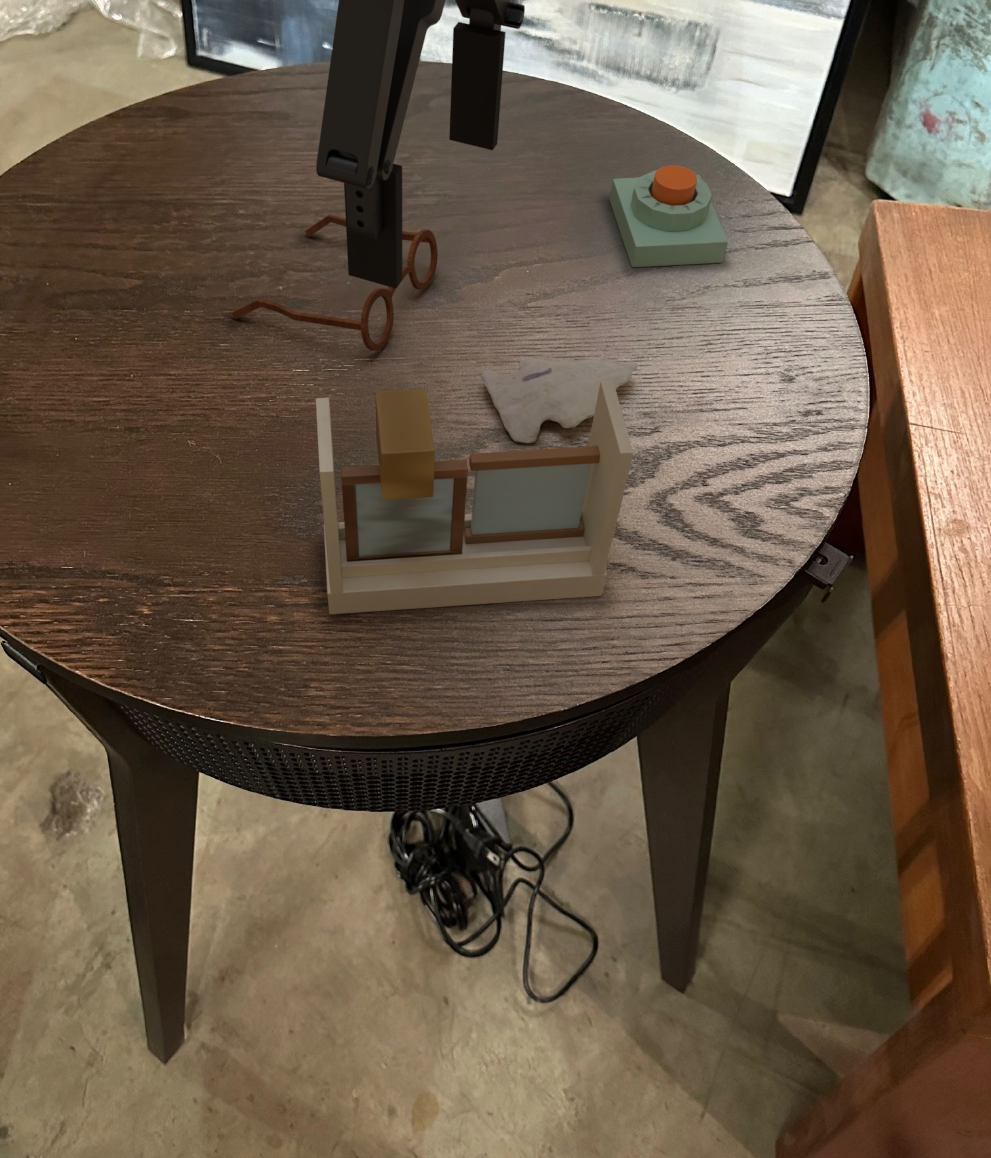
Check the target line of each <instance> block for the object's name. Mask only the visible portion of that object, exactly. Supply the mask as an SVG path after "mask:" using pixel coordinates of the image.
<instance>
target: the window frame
mask: <svg viewBox="0 0 991 1158" xmlns="http://www.w3.org/2000/svg"><path fill="white" fill-rule="evenodd" d="M315 410H316V411H315V412H316V431H317V444H318V445H317V448H318V466H319V467H318V469H319V470H318V471H319V481H320V482H319V483H320V490H321V491H320V493H321V504H322V513H323V514H322V515H323V535H324V536H323V537H324V538H323V539H324V554H325V556H324V557H325V575H326V577H325V578H326V593H327V595H326V596H327V603H328V614H329V615H342V614H355V613H357V614H358V613H373V612H386V611H399V610H411V609H412V610H415V609H429V608H444V607H458V606H473V605H486V604H487V605H489V604H503V603H515V602H516V603H517V602H531V601H532V602H533V601H545V600H561V599H574V598H575V599H576V598H589V597H601V596H602V597H603V593H604V590H605V584H606V581H607V577H608V572H607V565H608V561H609V556H610V554H611V553H610V552H611V549H612V544H613V540H614V536H615V531H616V528H617V523H618V518H619V515H620V511H621V507H622V502H623V498H624V495H625V490H626V486H627V483H628V478H629V474H630V470H631V466H632V461H633V457H634V453H635V452H634V448H633V445H632V441H631V438H630V435H629V432H628V427H627V425H626V420H625V417H624V413H623V411H622V407H621V403H620V400H619V396H618V393H617V389H615V386H614V382H613V381H601V382H600V387H599V392H598V397H597V403H596V408H595V413H594V416H593V417H592V418H593V419H592V423H591V429H590V434H589V438H588V445H587V446H574V447H573V446H572V447H559V448H557V447H555V448H542V449H541V448H540V449H527V450H526V449H524V450H510V451H509V450H508V451H493V452H491V451H490V452H477V453H476V452H475V453H470V454H469V461H468V462H469V470H470V472H474V482H473V496H472V509H471V513H465V521H464V535H463V549H462V554H457V555H442V556H427V557H412V558H397V559H382V560H367V561H352V562H347V556H346V541H345V526H344V521H339V513H338V501H337V500H338V499H337V485H336V484H337V483H336V472H335V459H334V445H333V444H334V443H333V433H332V432H333V431H332V418H331V404H330V397H316V398H315Z"/></svg>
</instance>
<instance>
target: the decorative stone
mask: <svg viewBox="0 0 991 1158" xmlns="http://www.w3.org/2000/svg"><path fill="white" fill-rule="evenodd" d="M518 362H519V365H518V366H519V367H518V370H516V371H514V372H510V373H501V372H498V371H495V370H492V369H486V370H484V371H482V373H481V375H480V378H481V381H482V383H483V384H484V385H485V388H486V390H487V391H488V394H489V396H490V398H491V401H492V403H493V406H494V407H495V408H496V410H497V411H498V413H499V416H500V419H501V421H502V423H503V426H504V429H505V430H506V431H507V433H508V434H509V436H510V437H511V439H512V440H513V441H514V442H515V443H522V444H523V443H524V444H532V443H535V442H536V441H537V440H538V435H539V434H540V430H541V426H542V424H543V423H544V422H547V421H552V422H556V423H558V424H560V425H561V427H562V428H564V429H571V428H576V427H577V426H578V425H580V424H581V423H582V422H584V421H585V420H586V419H590V418H594V413H595V408H596V403H597V397H598V392H599V387H600V382H601V381H613V382H614V386H615V389H616V390H617V389H618V388H619V387H621V386H623V385H626V384H628V382H630V380H631V379H632V376H633V373H634V372H635V371H636V370H637V369H638V363H636V362H620V361H617V360H608V359H584V360H583V359H582V360H573V359H568V358H567V359H566V358H559V359H540V358H538V357H534V356H525V357H523V358H522V359H520V360H519V361H518Z"/></svg>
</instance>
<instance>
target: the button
mask: <svg viewBox="0 0 991 1158" xmlns="http://www.w3.org/2000/svg"><path fill="white" fill-rule="evenodd" d="M656 170H657V171H656V173H655V177H654V181H653V186H652V191H651V194H652V197H653V198H654V199H656V200H657V201H658V202H660V203H664V204H667V205H671V206H677V205H686V204H688V203H690V202H691V201H692V199H693V196H694V192H695V188H696V183H697V176H696V175H697V174H696V173H695V172H694V171H693V170H691V169H690V168H688V167H685V166H682V165H675V164H673V165H671V164H670V165H664V166H662V167H660V168H658V169H656Z"/></svg>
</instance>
